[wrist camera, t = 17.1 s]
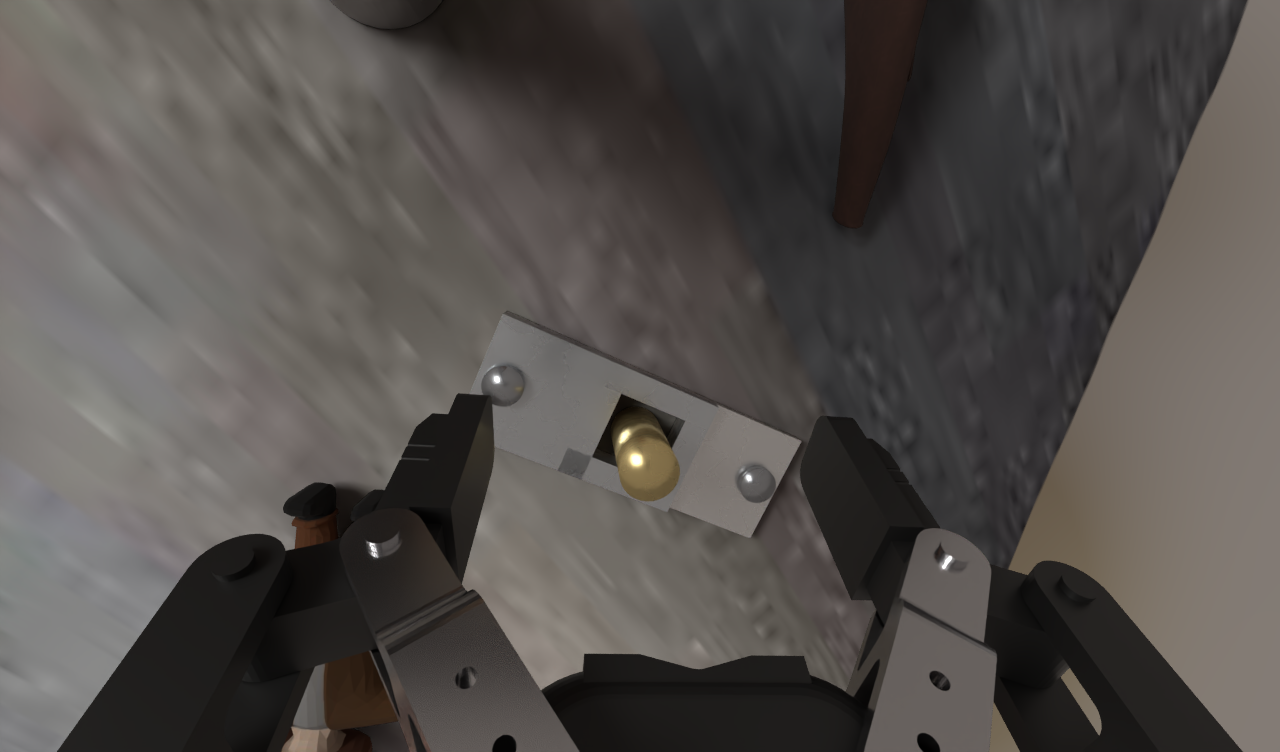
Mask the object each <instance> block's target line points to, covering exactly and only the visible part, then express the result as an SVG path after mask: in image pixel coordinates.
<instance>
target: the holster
mask: <svg viewBox="0 0 1280 752" xmlns="http://www.w3.org/2000/svg"><path fill="white" fill-rule="evenodd" d="M927 1H928V0H844V12H845V72H846V80H845V98H844V113H843V124H842V136H841V147H840V157H839V168H838V178H837V187H836V197H835V205H834V211H833V213H832V216H833V218H834V220H835V221H836V222H838V223H839V224H841V225H843V226H845V227H849V228H859V227H861V226H862V225H863V220H864V216H865V213H866V210H867V207H868V205H869V202H870V199H871V196H872V193H873V191H874V188H875V185H876V182H877V179H878V176H879V174H880V171H881V168H882V165H883V162H884V159H885V156H886V154H887V151H888V148H889V144H890V141H891V138H892V135H893V131H894V128H895V125H896V122H897V118H898V114H899V111H900V107H901V103H902V99H903V95H904V91H905V87H906V83H907V82H908V81H909V80H910V78H911V75H912V69H913V62H914V55H915V47H916V43H917V39H918V35H919V31H920V27H921V24H922V20H923V16H924V12H925V8H926V4H927Z"/></svg>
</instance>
